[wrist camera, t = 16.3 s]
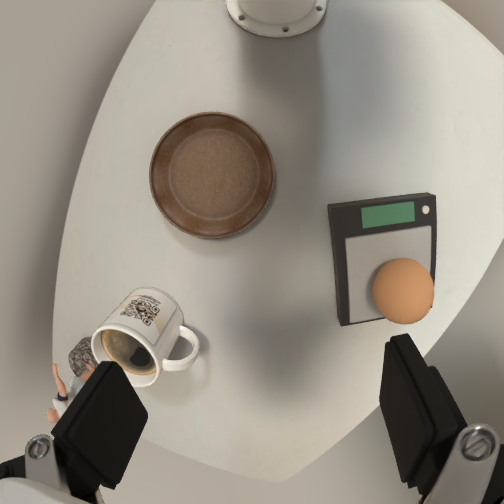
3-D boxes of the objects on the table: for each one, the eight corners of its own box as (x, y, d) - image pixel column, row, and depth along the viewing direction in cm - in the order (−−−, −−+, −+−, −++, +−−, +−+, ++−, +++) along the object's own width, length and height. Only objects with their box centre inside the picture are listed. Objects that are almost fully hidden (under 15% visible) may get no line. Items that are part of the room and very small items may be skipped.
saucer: (211, 91, 31) (206, 86, 29) (300, 173, 34) (302, 175, 31) (136, 178, 36) (126, 180, 33) (217, 255, 38) (212, 262, 36)
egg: (404, 237, 32) (436, 262, 24) (424, 282, 34) (453, 314, 26) (355, 269, 34) (375, 303, 26) (378, 312, 35) (399, 351, 27)
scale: (327, 204, 35) (331, 209, 32) (427, 192, 33) (438, 196, 30) (337, 317, 40) (341, 329, 37) (425, 299, 38) (433, 310, 35)
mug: (153, 270, 40) (117, 309, 29) (210, 330, 42) (192, 381, 32) (114, 307, 43) (79, 346, 32) (166, 359, 45) (143, 405, 35)
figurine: (77, 318, 44) (18, 379, 27) (118, 335, 44) (64, 408, 28) (83, 372, 49) (40, 431, 32) (119, 389, 49) (81, 454, 33)
